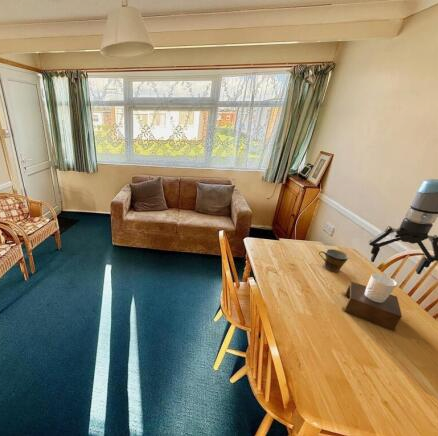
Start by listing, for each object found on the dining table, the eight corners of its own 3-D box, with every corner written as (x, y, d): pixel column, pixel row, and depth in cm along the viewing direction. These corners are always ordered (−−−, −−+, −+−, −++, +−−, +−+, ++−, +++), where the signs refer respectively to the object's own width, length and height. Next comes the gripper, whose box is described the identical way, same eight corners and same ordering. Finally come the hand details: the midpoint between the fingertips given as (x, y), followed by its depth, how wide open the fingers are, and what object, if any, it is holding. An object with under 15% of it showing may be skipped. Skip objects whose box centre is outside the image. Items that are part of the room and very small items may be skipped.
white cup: (388, 299, 100) (399, 281, 96) (383, 306, 96) (394, 288, 92) (365, 288, 106) (374, 271, 102) (359, 295, 102) (368, 277, 98)
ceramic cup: (340, 266, 134) (347, 252, 130) (343, 275, 126) (350, 261, 122) (314, 259, 140) (319, 246, 136) (315, 268, 132) (320, 254, 128)
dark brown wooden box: (389, 309, 105) (397, 296, 101) (393, 330, 95) (402, 316, 91) (344, 293, 114) (350, 281, 110) (344, 311, 104) (350, 298, 101)
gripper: (375, 215, 91) (355, 259, 99) (475, 233, 77) (441, 283, 85) (373, 209, 96) (354, 252, 105) (466, 225, 82) (436, 273, 91)
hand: (393, 266), depth 95 cm, fingers open, 13 cm apart
